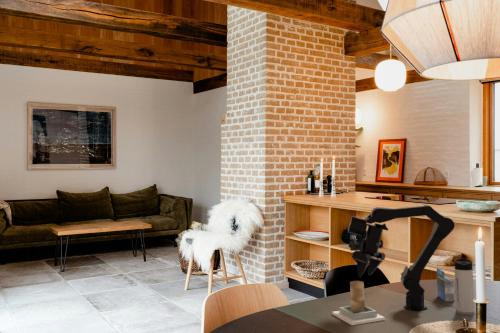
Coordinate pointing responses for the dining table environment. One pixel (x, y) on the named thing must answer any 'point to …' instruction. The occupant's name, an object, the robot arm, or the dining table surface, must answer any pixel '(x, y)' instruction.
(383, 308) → the dining table surface
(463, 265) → the travel mug
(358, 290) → the tan cylinder
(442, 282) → the label tape box
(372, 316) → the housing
